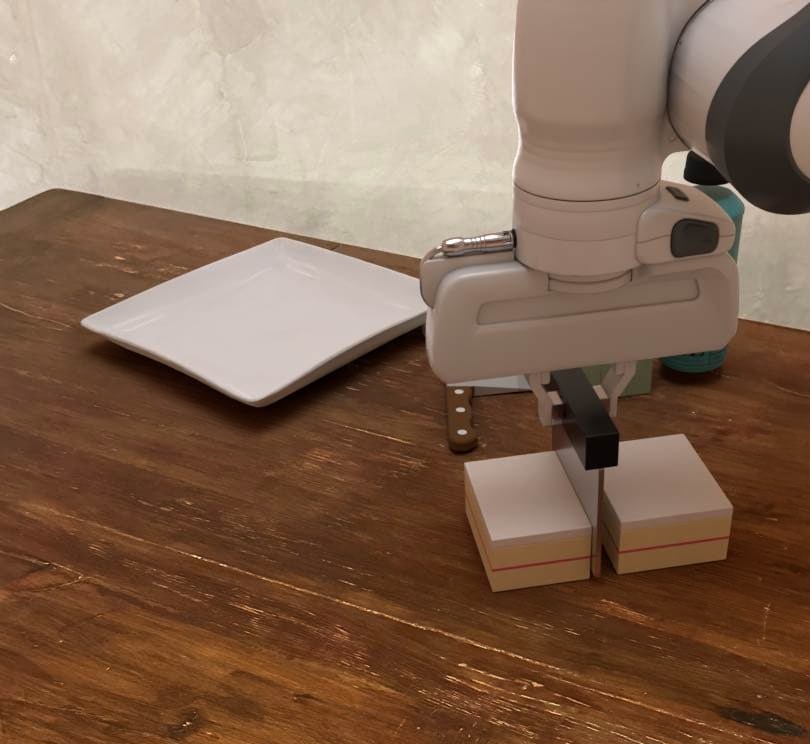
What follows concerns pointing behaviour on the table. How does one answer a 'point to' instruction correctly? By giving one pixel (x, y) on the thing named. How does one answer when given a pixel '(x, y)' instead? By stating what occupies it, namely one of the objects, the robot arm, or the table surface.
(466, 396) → the kitchen cleaver
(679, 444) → the cake
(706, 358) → the beverage bottle
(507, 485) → the cake slice
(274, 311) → the square plate
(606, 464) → the cake cutter
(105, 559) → the table surface
